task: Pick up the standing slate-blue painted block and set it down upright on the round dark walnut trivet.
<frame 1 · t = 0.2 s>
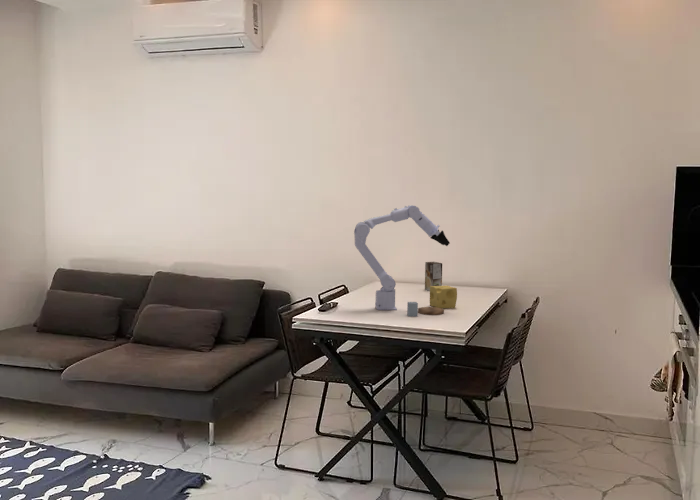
hand: (446, 244, 320), 31 cm above the table, tool tilted 45°, fingers open, 7 cm apart
coffee box: (433, 291, 379), on the table
trivet: (430, 312, 314), on the table
cheese: (442, 307, 329), on the table
block: (412, 315, 306), on the table
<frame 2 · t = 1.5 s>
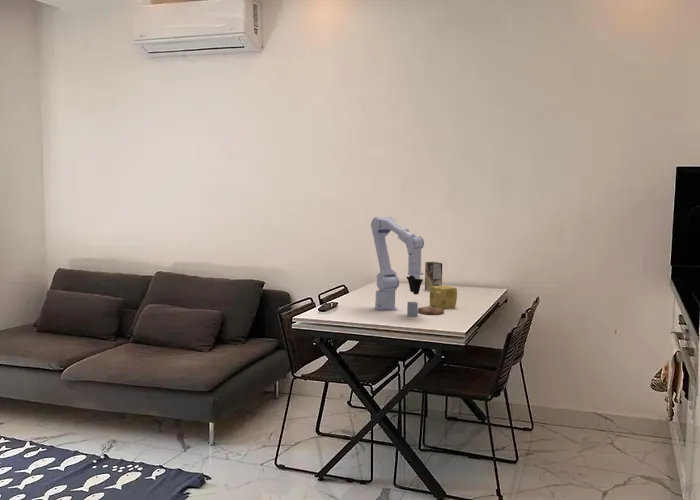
hand: (414, 293, 305), 10 cm above the table, tool pointing down, fingers open, 7 cm apart
nothing on the table moved.
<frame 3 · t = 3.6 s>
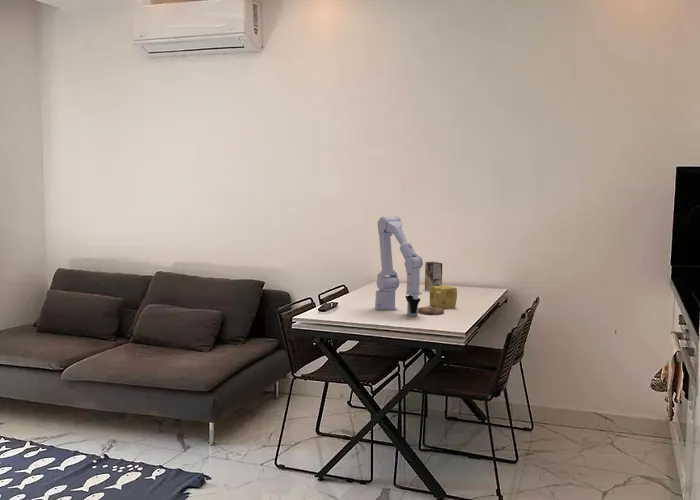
hand: (412, 312, 306), 1 cm above the table, tool pointing down, fingers closed on block, 4 cm apart
block: (412, 315, 306), on the table, touching gripper
everything else where it was.
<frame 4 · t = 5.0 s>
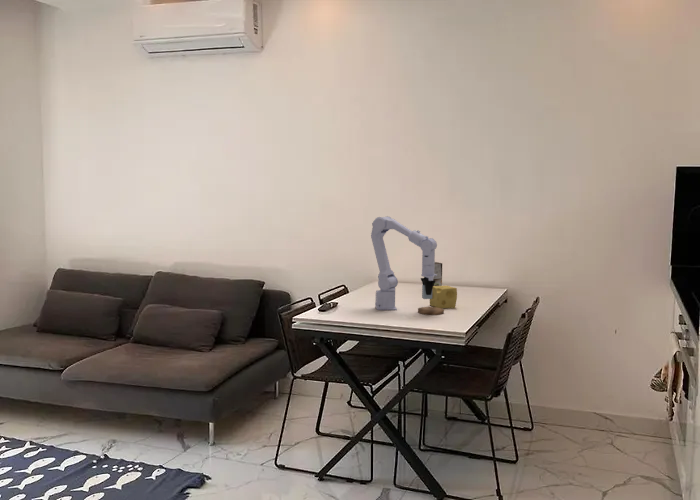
hand: (427, 294, 311), 9 cm above the table, tool pointing down, fingers closed on block, 4 cm apart
block: (427, 298, 311), point 7 cm above the table, touching gripper
everything else where it was.
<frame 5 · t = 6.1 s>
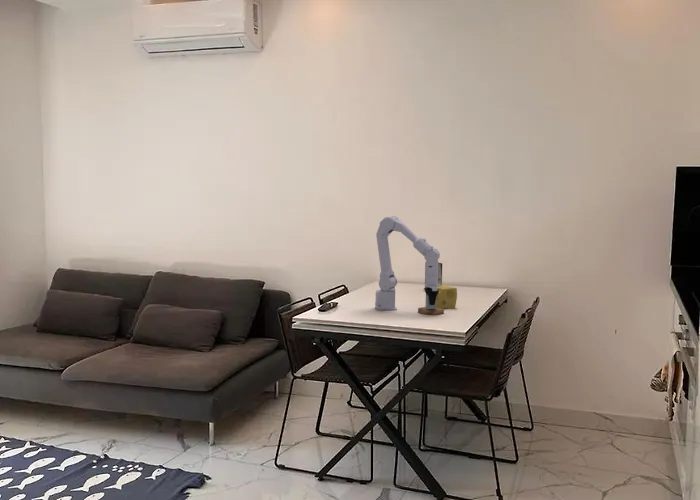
hand: (431, 304, 313), 4 cm above the table, tool pointing down, fingers closed on block, 4 cm apart
block: (430, 308, 313), point 2 cm above the table, touching gripper
everything else where it was.
when the fingers open (4 cm above the table, at t = 6.9 s): block stays where it is, resting on trivet.
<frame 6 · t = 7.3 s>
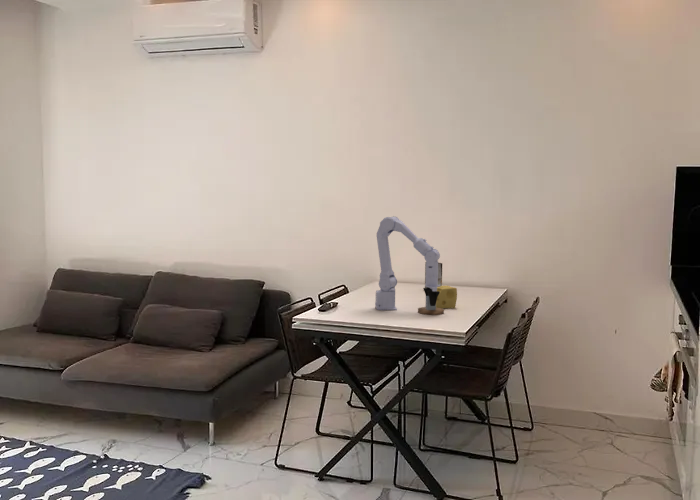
hand: (431, 304, 313), 4 cm above the table, tool pointing down, fingers open, 7 cm apart
block: (430, 309, 313), point 1 cm above the table, touching trivet
everything else where it was.
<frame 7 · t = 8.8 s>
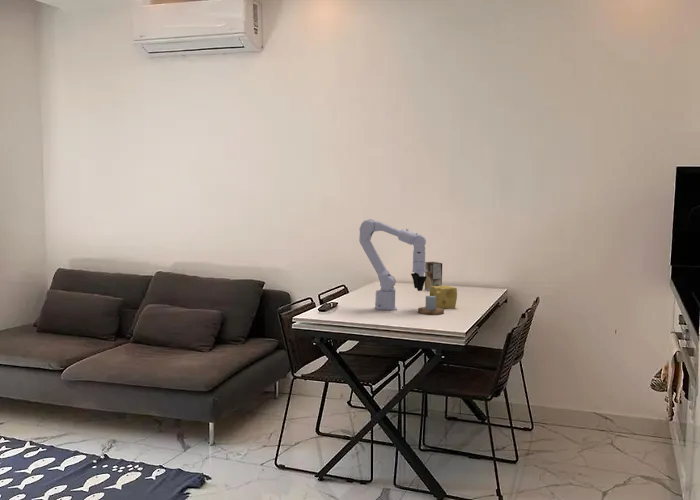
hand: (418, 289, 318), 10 cm above the table, tool pointing down, fingers open, 7 cm apart
nothing on the table moved.
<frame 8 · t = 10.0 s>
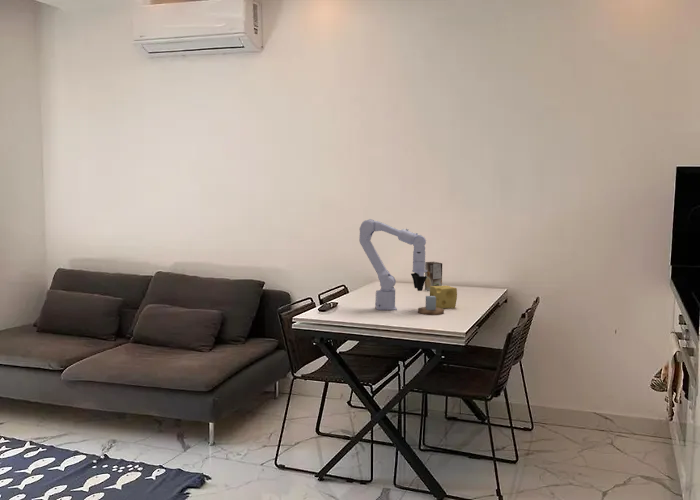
hand: (418, 289, 318), 10 cm above the table, tool pointing down, fingers open, 7 cm apart
nothing on the table moved.
at the end: block inside the target area on the trivet (0.2 cm from its centre), point 1.5 cm above the trivet's base; block tilted 0°; the gripper is holding nothing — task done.
